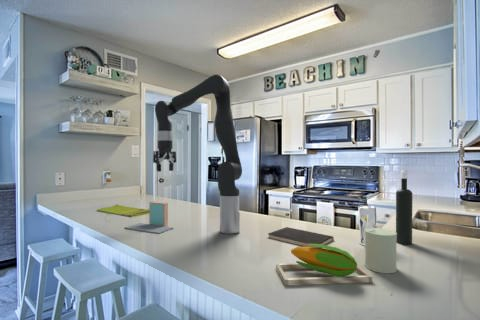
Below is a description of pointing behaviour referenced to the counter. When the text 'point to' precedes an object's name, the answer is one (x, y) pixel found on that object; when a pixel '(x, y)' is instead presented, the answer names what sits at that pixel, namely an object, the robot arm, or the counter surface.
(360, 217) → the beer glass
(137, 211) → the dish towel
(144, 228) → the mat
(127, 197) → the counter surface
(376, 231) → the can
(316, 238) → the hardcover book
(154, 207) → the tile
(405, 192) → the wine bottle
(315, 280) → the corn rest
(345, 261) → the corn
